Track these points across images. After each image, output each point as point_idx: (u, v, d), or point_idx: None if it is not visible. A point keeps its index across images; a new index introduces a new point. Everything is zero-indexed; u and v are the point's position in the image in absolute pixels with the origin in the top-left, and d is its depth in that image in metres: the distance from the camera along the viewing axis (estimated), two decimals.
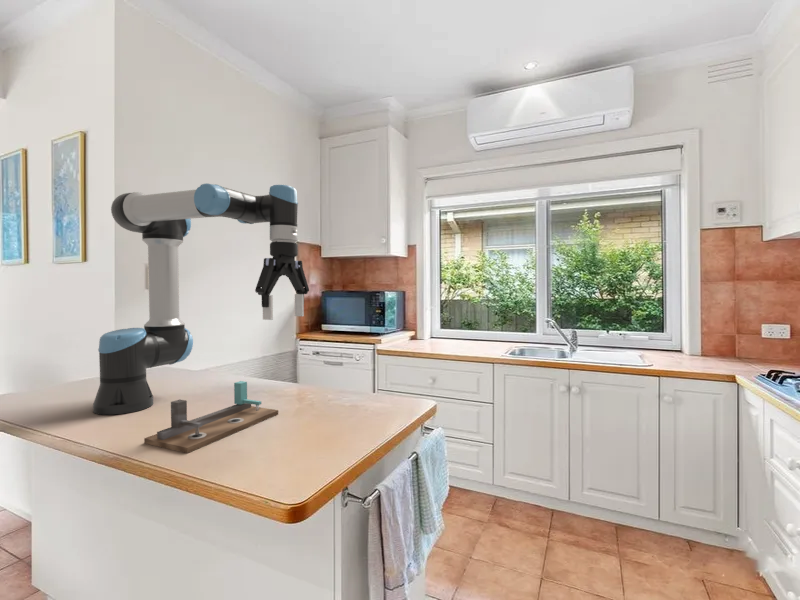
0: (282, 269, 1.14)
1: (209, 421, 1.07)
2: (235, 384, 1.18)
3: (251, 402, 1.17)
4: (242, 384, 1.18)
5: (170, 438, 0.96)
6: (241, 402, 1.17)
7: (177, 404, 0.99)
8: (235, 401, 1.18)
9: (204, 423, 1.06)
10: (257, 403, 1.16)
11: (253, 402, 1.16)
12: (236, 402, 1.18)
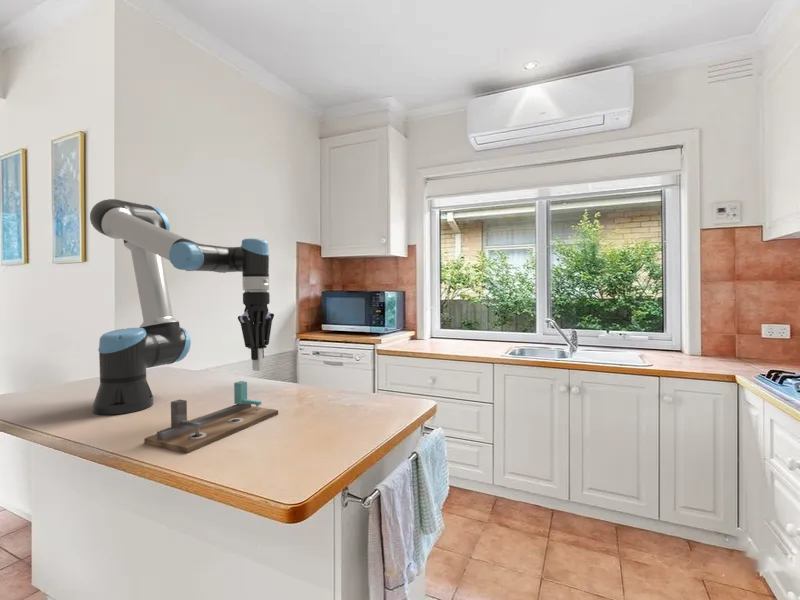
0: (257, 319, 1.22)
1: (209, 421, 1.07)
2: (235, 384, 1.18)
3: (251, 402, 1.17)
4: (242, 384, 1.18)
5: (170, 438, 0.96)
6: (241, 402, 1.17)
7: (177, 404, 0.99)
8: (235, 401, 1.18)
9: (204, 423, 1.06)
10: (257, 403, 1.16)
11: (253, 402, 1.16)
12: (236, 402, 1.18)
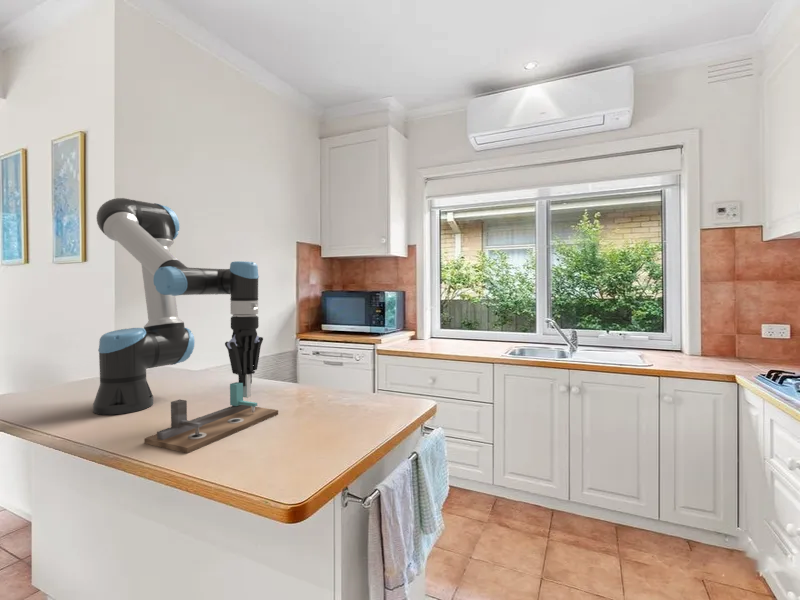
0: (245, 345, 1.18)
1: (209, 421, 1.07)
2: (231, 385, 1.16)
3: (247, 403, 1.15)
4: (238, 385, 1.16)
5: (170, 438, 0.96)
6: (237, 403, 1.16)
7: (177, 404, 0.99)
8: (231, 402, 1.16)
9: (204, 423, 1.06)
10: (253, 404, 1.14)
11: (249, 403, 1.15)
12: (232, 403, 1.16)
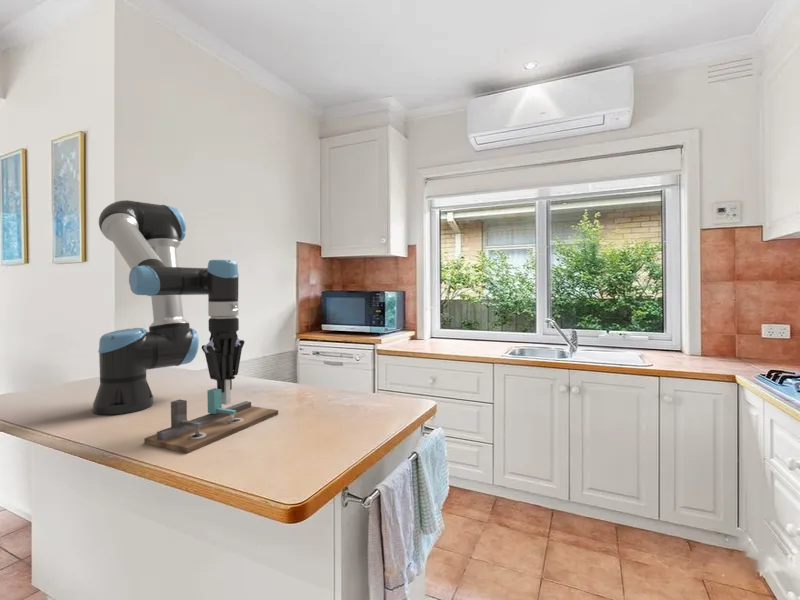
0: (224, 349, 1.11)
1: (209, 421, 1.07)
2: (208, 392, 1.09)
3: (225, 411, 1.08)
4: (216, 392, 1.09)
5: (170, 438, 0.96)
6: (215, 411, 1.09)
7: (177, 404, 0.99)
8: (209, 410, 1.09)
9: (204, 423, 1.06)
10: (231, 412, 1.07)
11: (227, 411, 1.08)
12: (209, 411, 1.09)
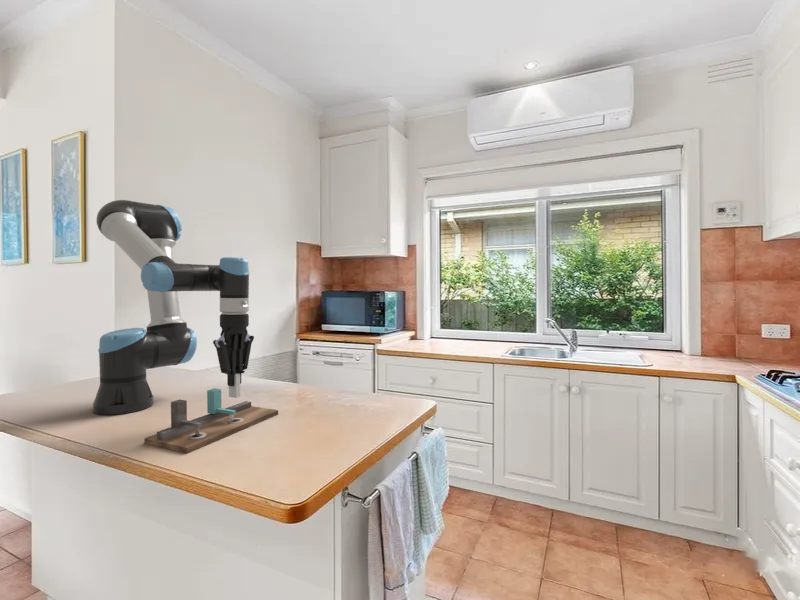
0: (234, 344, 1.14)
1: (209, 421, 1.07)
2: (208, 392, 1.09)
3: (225, 411, 1.08)
4: (216, 392, 1.09)
5: (170, 438, 0.96)
6: (214, 411, 1.09)
7: (177, 404, 0.99)
8: (208, 410, 1.09)
9: (204, 423, 1.06)
10: (231, 412, 1.07)
11: (227, 411, 1.08)
12: (209, 411, 1.09)
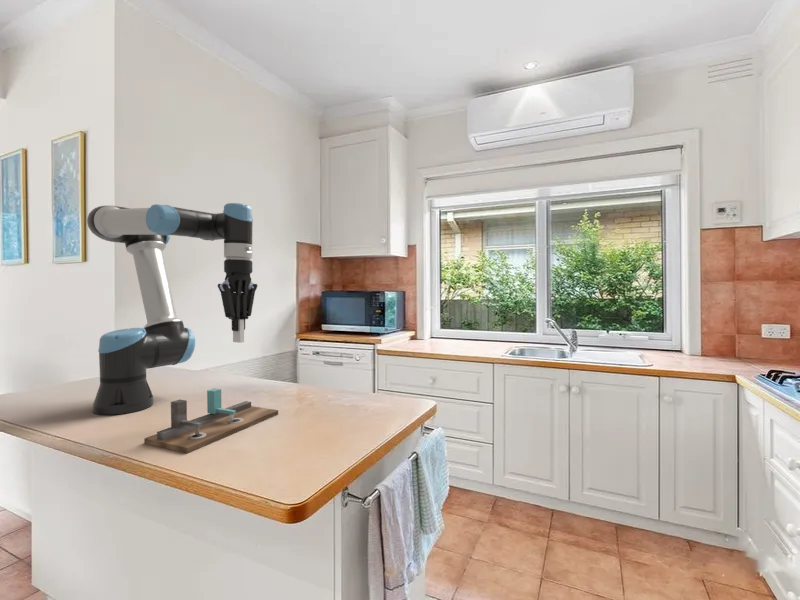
0: (238, 289, 1.16)
1: (209, 421, 1.07)
2: (208, 392, 1.09)
3: (225, 411, 1.08)
4: (216, 392, 1.09)
5: (170, 438, 0.96)
6: (214, 411, 1.09)
7: (177, 404, 0.99)
8: (208, 410, 1.09)
9: (204, 423, 1.06)
10: (231, 412, 1.07)
11: (227, 411, 1.08)
12: (209, 411, 1.09)
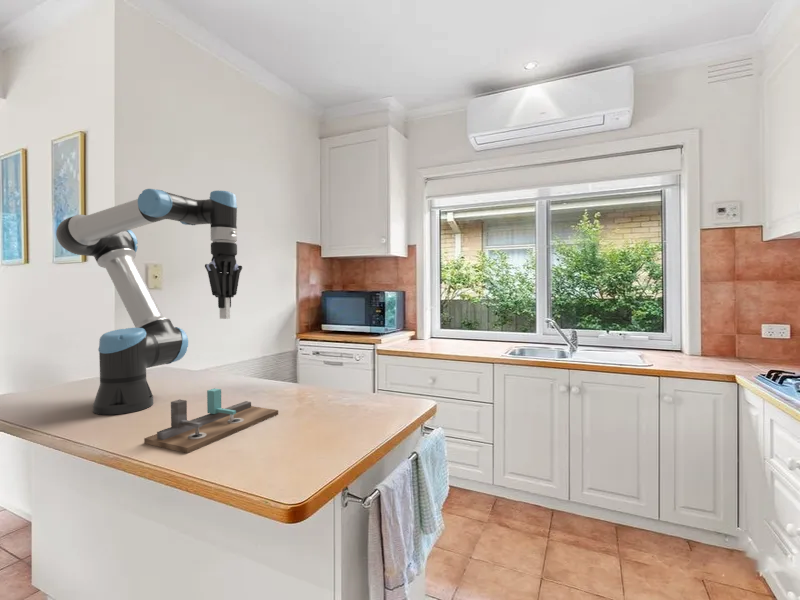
0: (224, 269, 1.27)
1: (209, 421, 1.07)
2: (208, 392, 1.09)
3: (225, 411, 1.08)
4: (216, 392, 1.09)
5: (170, 438, 0.96)
6: (214, 411, 1.09)
7: (177, 404, 0.99)
8: (208, 410, 1.09)
9: (204, 423, 1.06)
10: (231, 412, 1.07)
11: (227, 411, 1.08)
12: (209, 411, 1.09)
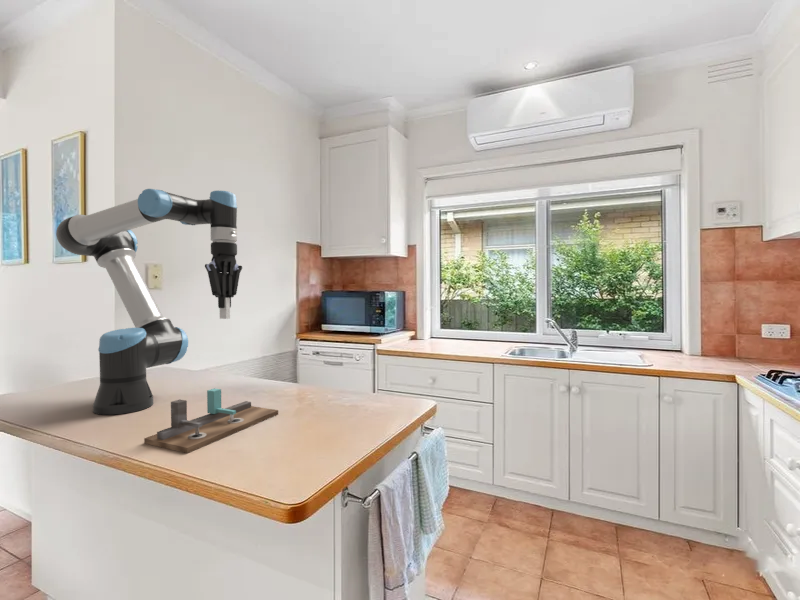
0: (224, 269, 1.27)
1: (209, 421, 1.07)
2: (208, 392, 1.09)
3: (225, 411, 1.08)
4: (216, 392, 1.09)
5: (170, 438, 0.96)
6: (214, 411, 1.09)
7: (177, 404, 0.99)
8: (208, 410, 1.09)
9: (204, 423, 1.06)
10: (231, 412, 1.07)
11: (227, 411, 1.08)
12: (209, 411, 1.09)
